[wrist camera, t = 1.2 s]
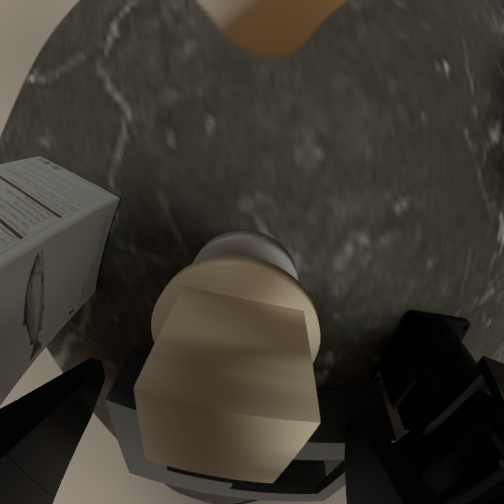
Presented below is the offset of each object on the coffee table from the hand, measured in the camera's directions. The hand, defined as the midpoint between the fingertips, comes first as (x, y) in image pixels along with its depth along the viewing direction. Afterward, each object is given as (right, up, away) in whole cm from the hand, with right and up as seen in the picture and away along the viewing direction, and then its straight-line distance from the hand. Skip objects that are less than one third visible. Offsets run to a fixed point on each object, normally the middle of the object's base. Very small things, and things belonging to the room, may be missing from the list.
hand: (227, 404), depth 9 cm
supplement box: (-11, +7, +7) cm, 15 cm away
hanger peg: (0, +3, +8) cm, 9 cm away
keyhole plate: (0, -11, +14) cm, 18 cm away
